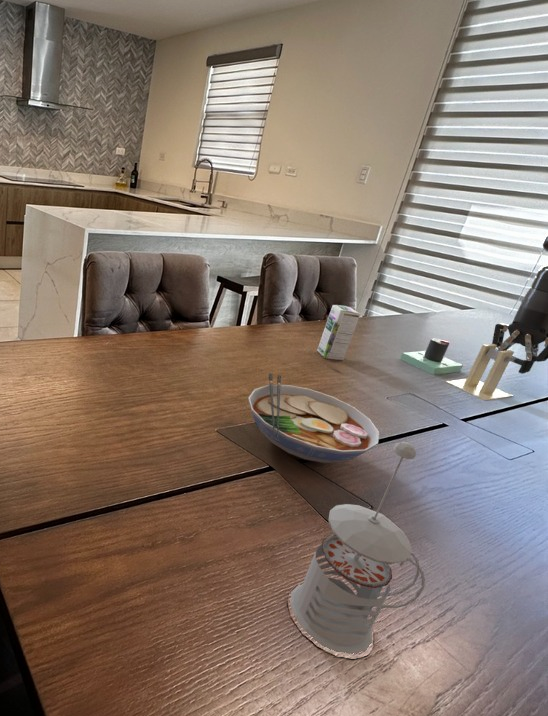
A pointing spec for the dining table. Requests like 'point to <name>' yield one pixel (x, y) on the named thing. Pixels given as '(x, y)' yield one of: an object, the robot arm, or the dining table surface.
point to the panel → (431, 363)
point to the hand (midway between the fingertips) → (509, 367)
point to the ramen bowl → (311, 423)
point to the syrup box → (338, 332)
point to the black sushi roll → (436, 350)
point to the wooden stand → (488, 387)
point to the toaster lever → (494, 353)
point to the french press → (353, 574)
